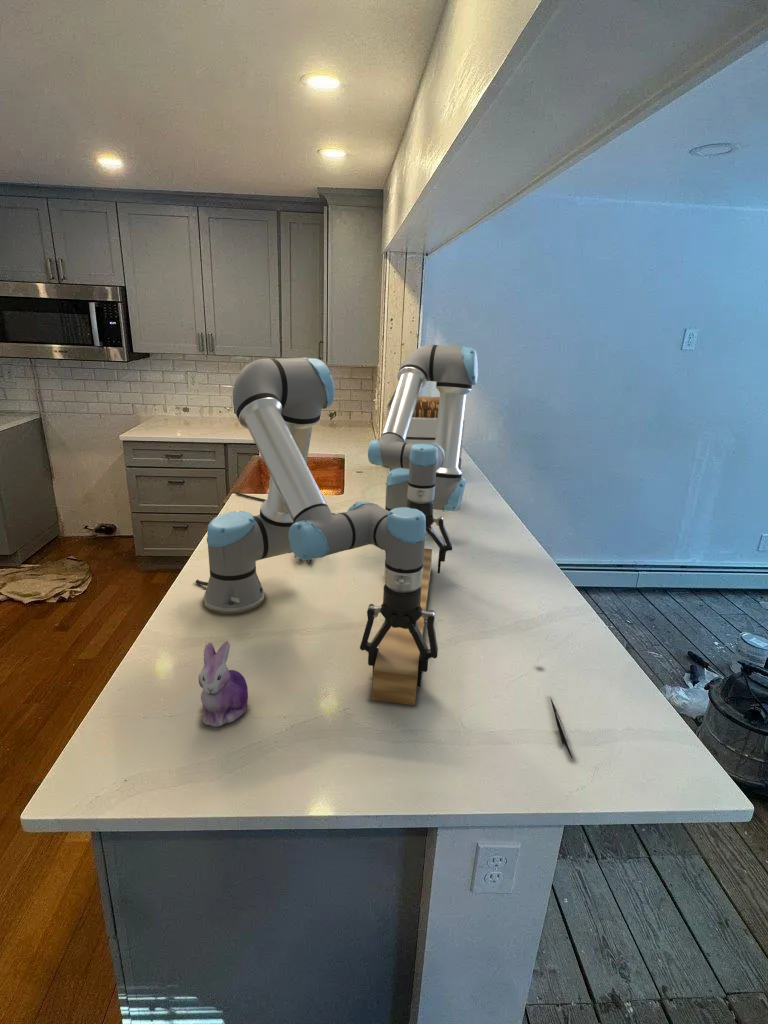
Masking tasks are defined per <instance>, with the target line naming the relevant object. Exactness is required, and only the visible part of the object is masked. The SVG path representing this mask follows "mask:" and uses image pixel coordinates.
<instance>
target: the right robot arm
mask: <svg viewBox="0 0 768 1024" xmlns="http://www.w3.org/2000/svg"><path fill="white" fill-rule="evenodd" d="M396 378H397V381H398V382H397V385H396V388H395V390H396V391H395V390H394V392H395V394H394V393H393V394H394V397H393V400H392V403H391V407H390V410H389V413H388V416H387V419H386V418H385V422H384V425H383V428H382V431H381V435H380V438H379V439H378V438H377V439H372V440H371V441H370V442H369V443H368V448H367V458H368V462H369V463H370V464H371V465H375V466H380V467H387V466H388V468H390V467H397V468H396V469H393V470H391V471H390V470H389V472H388V473H387V475H386V482H385V504H384V505H385V507H384V509H386V510H388V511H391V510H392V509H395V508H400V507H408V508H411V509H417V510H419V511H421V512H422V513H423V514H424V515H425V517H426V534H427V535H429V536H430V537H431V539H432V540H433V542H434V543H435V544H436V545H437V547H438V548H439V550H438V560H437V571H436V573H437V574H441V565H442V563H445V561H446V553H447V552H448V551H449V552H450V551H453V548H454V547H453V542H452V540H451V538H450V536H449V533H448V531H447V528H446V527H445V524H444V516H439V517H434V510H436V511H442V512H453V513H454V512H456V511H457V510H458V509H459V508H460V505H461V502H462V500H463V496H464V493H465V492H464V491H465V489H466V479H465V478H464V477H463V476H462V475H463V472H462V470H461V471H460V470H459V468H458V462H459V453H460V445H461V440H462V438H461V436H462V427H463V419H464V417H465V410H466V409H465V407H466V398H467V395H468V394H469V393H471V392H472V388H473V386H475V385H477V384H478V378H479V363H478V353H477V351H476V349H475V348H474V347H470V346H463V345H444V344H443V345H441V344H425V345H421V346H420V347H418V348H417V349H414V350H413V351H412V352H411V353H409V354H408V356H406V358H405V359H404V360H403V361H402V363H401V364H400V367H399V369H398V372H397V377H396ZM427 382H435V388H436V389H437V391H438V392H439V397H440V398H439V408H438V418H437V427H436V437H435V443H429V444H411V443H405V440H406V437H407V434H408V430H409V427H410V423H411V420H412V417H413V413H414V410H415V407H416V403H417V400H418V397H420V393H421V389H422V388H423V389H424V387H425V385H426V384H427ZM235 495H238V496H241V497H246V498H249V499H254V500H257V501H262V502H264V501H265V500H266V499H265V498H260V497H256V496H252V495H248V494H244V493H241V492H235ZM332 514H336V513H334V512H332ZM434 523H435V524H436V526H437V527H438V528H439V530H440V533H441V536H442V538H443V540H444V541H443V540H442V539H441V537H440V536H439V535H438V534H437V533H436V531H435V530H434V528H433V526H432V525H433V524H434ZM444 542H445V543H444Z"/></svg>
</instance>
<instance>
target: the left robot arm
mask: <svg viewBox="0 0 768 1024" xmlns="http://www.w3.org/2000/svg"><path fill="white" fill-rule="evenodd" d="M335 391H336V389H335V382H334V378H333V376H332V372H331V370H330V368H329V367H328V366H327V364H326V363H325V362H323V360H321V359H319V358H313V357H312V358H311V357H304V356H301V357H293V358H292V357H290V358H289V357H288V358H287V357H286V358H259V359H255V360H253V361H252V362H249V363H248V364H246V365H245V366H244V367H243V368H242V369H241V370H240V372H239V373H238V375H237V377H236V379H235V381H234V385H233V389H232V406H233V410H234V413H235V415H236V417H237V420H238V422H239V424H240V426H242V427H243V428H245V429H248V431H249V433H250V435H251V437H252V440H253V441H254V444H255V446H256V448H257V450H258V452H259V454H260V457H261V458H262V460H263V463H264V465H265V467H266V468H267V471H268V473H269V474H270V475H269V482H268V491H267V499H265V501H262V503H261V504H260V509H259V514H257V515H253V514H252V513H251V512H249V511H241V510H240V511H229V512H226V513H222V514H219V515H217V516H215V517H214V518H213V519H212V520H210V522H209V523H208V525H207V529H206V530H207V532H206V534H207V536H206V543H207V551H208V552H207V553H208V565H209V567H208V568H209V577H208V581H202V580H199V579H195V583H196V584H198V585H201V586H206V589H205V592H204V595H203V599H204V600H203V601H204V606H205V607H206V608H207V609H208V610H209V611H211V612H213V613H217V614H222V615H237V614H244V613H247V612H250V611H252V610H254V609H257V608H258V607H259V606H261V605H262V604H263V602H264V600H265V594H264V592H265V591H264V588H263V586H262V583H261V581H260V578H259V576H258V574H257V567H256V565H257V564H256V563H257V562H258V561H260V560H265V559H269V558H274V557H277V556H282V555H285V554H292V553H293V554H294V557H295V556H296V557H298V558H297V559H299V560H300V559H301V560H302V561H309V560H310V559H311V560H315V559H316V560H317V559H322V558H325V557H326V556H331V555H333V554H337V553H341V552H344V551H350V550H354V549H357V548H361V547H365V546H369V545H373V546H375V547H377V548H378V549H379V550H383V551H384V552H385V555H384V556H385V559H384V575H383V577H384V578H383V579H384V580H383V583H384V585H383V596H382V600H383V601H382V603H381V605H376V606H375V604H373V603H369V605H368V607H367V610H366V615H367V620H366V624H365V628H364V632H363V635H362V639H361V641H360V644H359V650H360V651H366V652H367V653H368V655H367V664H368V666H369V667H370V666H371V667H372V671H373V670H374V666H375V662H376V658H377V654H378V649H379V645H380V642H381V641H382V639H383V638H384V636H385V635H386V633H387V631H389V629H390V628H391V626H392V627H393V628H398V627H400V628H403V629H407V628H408V629H409V632H410V633H411V634H412V636H413V638H414V641H415V643H416V645H417V647H418V649H419V651H420V655H419V665H418V679H417V688H421V686H422V685H421V684H422V676H423V672H425V673H426V672H427V671H428V670H429V669H428V668H429V667H428V666H429V660H430V659H437V658H438V652H439V649H438V648H439V647H438V642H437V641H438V640H437V636H436V635H437V634H436V629H435V616H436V611H435V610H434V609H430V610H429V611H427V610H426V611H423V610H422V608H421V606H420V602H421V585H422V575H423V559H424V548H425V545H426V538H427V532H426V517H425V515H424V514H423V513H422V512H421V511H419V510H417V509H411V508H408V507H400V508H395V509H392V510H391V511H388V510H386V509H385V507H382V506H380V505H378V504H376V503H373V502H369V501H366V500H361V501H357V502H355V503H354V504H353V505H351V506H349V508H348V509H347V511H343V512H338V513H335V514H332V513H333V512H332V511H331V508H330V507H329V505H328V503H327V501H326V500H325V497H324V495H323V494H322V491H321V490H320V488H319V486H318V483H317V482H316V480H315V477H314V476H313V474H312V472H311V470H310V468H309V466H308V465H307V464H308V457H309V452H310V443H311V437H312V432H313V431H312V430H313V426H314V425H316V424H318V423H319V422H320V420H321V416H322V410H325V409H328V408H329V407H331V405H332V404H333V403H334V400H335V395H336V394H335V393H336V392H335ZM379 613H380V614H381V615H382V617H383V618H384V621H383V623H382V625H381V626H380V627H379V629H378V631H377V632H376V634H375V635H374V637H373V638H372V641H370V642H369V639H370V635H371V632H372V628H373V625H374V621H375V619H376V618H377V617H378V616H379ZM420 617H423V619H424V622H425V624H426V632H427V637H428V643H429V648H428V645H427V643H426V641H425V639H424V635H423V636H422V634H421V632H420V630H419V628H418V625H417V622H416V621H417V620H418V619H419V618H420ZM372 682H373V677H372Z"/></svg>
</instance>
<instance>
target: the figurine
mask: <svg viewBox="0 0 768 1024" xmlns="http://www.w3.org/2000/svg"><path fill="white" fill-rule="evenodd" d="M230 649H231V643H230V641H229V640H226V641H224V642H223V643H222V645H221V646H220V647H219V649H218V650H217V651H216V650H215V647H214V645H213V643H212V642H207V643H205V646H204V649H203V666H202V668H201V670H200V672H199V675H198V685H199V687H201V689H202V690H201V692H200V702H201V705H202V708H203V718H202V722H203V724H204V725H206V726H211V727H214V728H215V727H221V726H223V725H224V724H230V723H233V722H235V721H236V720H237V719H239V718H240V717H241V716H242V715H244V714H245V713H246V711H247V708H248V698H249V691H248V684H247V683H248V682H247V680H246V679H245V676H244V675H243V674H242V673H241V672H240V671H238V670H235V669H229V668H228V667H227V660H228V657H229V653H230Z"/></svg>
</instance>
